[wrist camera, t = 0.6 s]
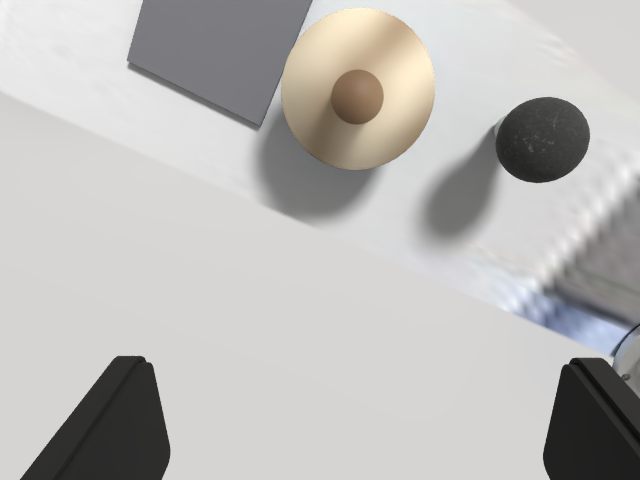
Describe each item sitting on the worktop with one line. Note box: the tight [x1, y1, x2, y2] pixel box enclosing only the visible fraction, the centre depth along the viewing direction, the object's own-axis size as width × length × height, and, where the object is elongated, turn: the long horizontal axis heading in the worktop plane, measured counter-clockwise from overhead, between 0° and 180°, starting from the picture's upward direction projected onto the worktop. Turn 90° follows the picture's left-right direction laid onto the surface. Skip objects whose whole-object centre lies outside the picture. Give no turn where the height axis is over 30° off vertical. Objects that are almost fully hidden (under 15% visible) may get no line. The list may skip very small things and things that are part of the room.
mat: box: [127, 0, 312, 126], centre depth 34 cm, size 12×12×1 cm
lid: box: [281, 8, 435, 170], centre depth 28 cm, size 10×10×6 cm
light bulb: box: [494, 97, 590, 183], centre depth 31 cm, size 6×6×10 cm
